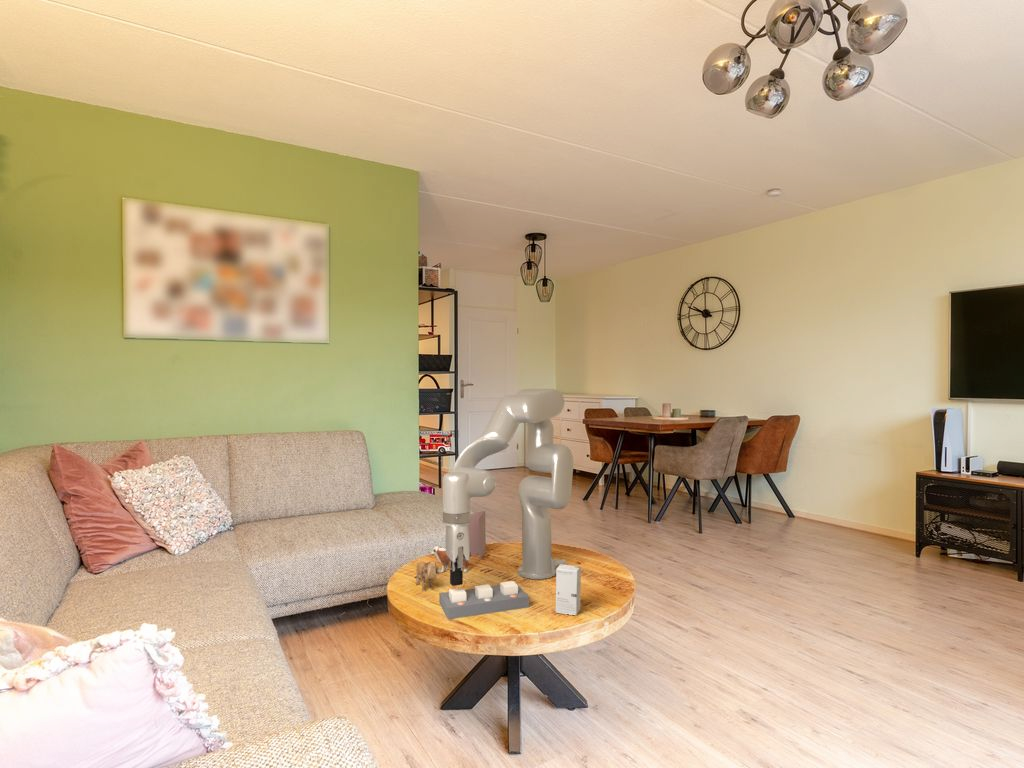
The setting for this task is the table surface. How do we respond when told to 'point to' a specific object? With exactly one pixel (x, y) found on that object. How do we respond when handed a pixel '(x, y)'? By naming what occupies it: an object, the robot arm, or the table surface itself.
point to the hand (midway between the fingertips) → (456, 584)
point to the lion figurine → (427, 573)
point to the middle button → (483, 591)
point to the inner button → (508, 588)
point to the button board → (483, 603)
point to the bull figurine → (446, 558)
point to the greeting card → (477, 534)
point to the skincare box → (568, 589)
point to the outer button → (457, 595)
